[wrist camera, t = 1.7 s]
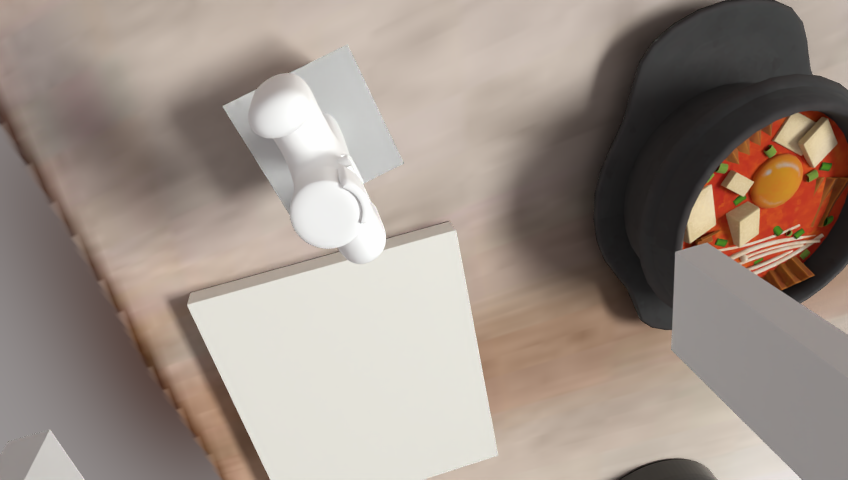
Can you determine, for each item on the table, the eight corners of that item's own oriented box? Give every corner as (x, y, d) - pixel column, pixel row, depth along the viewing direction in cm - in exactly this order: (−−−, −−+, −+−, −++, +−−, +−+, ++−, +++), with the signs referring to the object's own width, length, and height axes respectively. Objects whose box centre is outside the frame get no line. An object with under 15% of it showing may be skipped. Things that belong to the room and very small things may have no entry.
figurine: (300, 210, 36) (307, 348, 23) (217, 74, 32) (168, 149, 18) (400, 160, 36) (465, 270, 23) (332, 18, 32) (364, 52, 18)
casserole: (787, 282, 49) (876, 338, 41) (588, 342, 47) (645, 412, 39) (831, -31, 37) (967, -32, 30) (570, 30, 35) (645, 46, 28)
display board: (492, 442, 49) (498, 455, 48) (290, 507, 47) (290, 522, 46) (450, 221, 39) (456, 229, 37) (190, 293, 37) (186, 304, 36)
